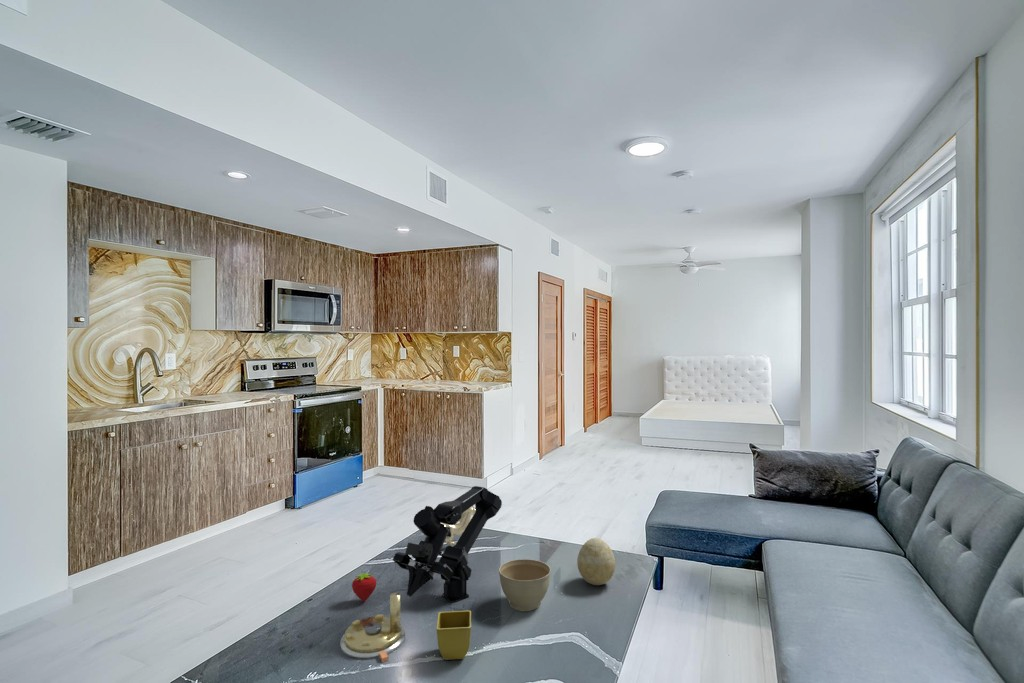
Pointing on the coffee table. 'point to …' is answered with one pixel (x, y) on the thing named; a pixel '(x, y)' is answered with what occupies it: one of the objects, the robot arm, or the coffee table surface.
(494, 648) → the coffee table surface
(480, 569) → the coffee table surface
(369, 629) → the base plate
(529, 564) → the planter bowl
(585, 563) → the fossilized egg
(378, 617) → the crank disc
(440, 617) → the flower pot
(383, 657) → the tab
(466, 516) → the unicorn
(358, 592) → the strawberry
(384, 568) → the coffee table surface
